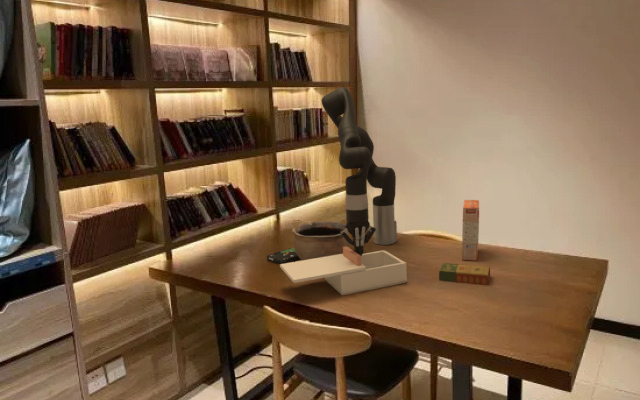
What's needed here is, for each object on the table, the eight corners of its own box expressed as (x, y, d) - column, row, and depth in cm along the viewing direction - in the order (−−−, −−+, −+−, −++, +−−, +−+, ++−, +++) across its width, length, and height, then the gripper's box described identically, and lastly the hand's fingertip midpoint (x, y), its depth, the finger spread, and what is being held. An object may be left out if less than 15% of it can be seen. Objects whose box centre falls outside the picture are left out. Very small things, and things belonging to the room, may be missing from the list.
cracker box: (478, 261, 178) (479, 207, 173) (461, 260, 180) (462, 207, 175) (478, 250, 191) (479, 199, 186) (463, 249, 192) (463, 199, 188)
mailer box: (384, 268, 176) (384, 250, 175) (406, 282, 161) (406, 263, 160) (324, 279, 168) (323, 260, 167) (341, 295, 154) (340, 275, 152)
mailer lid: (346, 255, 170) (346, 244, 169) (366, 269, 155) (365, 257, 154) (280, 267, 162) (279, 255, 161) (293, 283, 147) (293, 270, 146)
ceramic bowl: (317, 252, 199) (315, 217, 196) (361, 260, 186) (360, 223, 183) (283, 268, 181) (280, 231, 178) (330, 278, 169) (328, 238, 166)
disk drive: (282, 267, 185) (310, 257, 195) (282, 260, 184) (310, 250, 194) (266, 262, 192) (294, 252, 202) (266, 255, 192) (294, 246, 201)
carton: (488, 286, 155) (488, 274, 154) (438, 281, 162) (438, 269, 161) (490, 277, 163) (490, 265, 162) (442, 273, 169) (442, 261, 168)
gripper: (369, 202, 164) (371, 249, 168) (334, 207, 160) (337, 255, 164) (379, 206, 157) (381, 255, 161) (343, 211, 153) (345, 262, 157)
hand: (358, 255), depth 162 cm, fingers closed
